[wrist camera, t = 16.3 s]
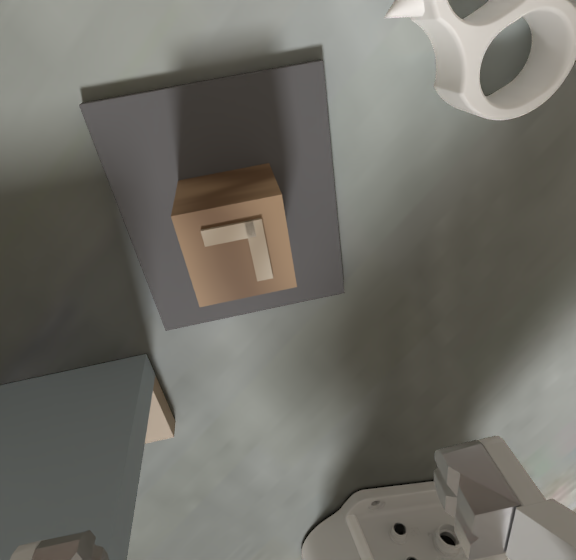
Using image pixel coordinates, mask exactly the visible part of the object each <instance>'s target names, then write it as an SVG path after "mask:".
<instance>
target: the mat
mask: <svg viewBox="0 0 576 560" xmlns="http://www.w3.org/2000/svg"><path fill="white" fill-rule="evenodd" d="M79 106H80V108H81V111H82V114H83V116H84V119H85V121H86V124H87V127H88V129H89V132H90V134H91V137H92V140H93V142H94V145H95V148H96V150H97V153H98V155H99V158H100V161H101V163H102V166H103V168H104V171H105V174H106V176H107V179H108V181H109V184H110V187H111V189H112V192H113V194H114V197H115V200H116V202H117V205H118V207H119V210H120V213H121V215H122V218H123V220H124V223H125V226H126V228H127V231H128V233H129V236H130V239H131V241H132V244H133V246H134V249H135V252H136V254H137V257H138V260H139V262H140V265H141V267H142V270H143V273H144V275H145V278H146V280H147V283H148V286H149V288H150V291H151V293H152V296H153V299H154V301H155V304H156V306H157V309H158V312H159V314H160V317H161V319H162V322H163V325H164V327H165V330H166V331H167V330H171V329H176V328H181V327H186V326H190V325H195V324H200V323H204V322H209V321H214V320H219V319H223V318H228V317H233V316H237V315H242V314H247V313H252V312H256V311H261V310H266V309H270V308H275V307H280V306H285V305H289V304H294V303H299V302H304V301H308V300H313V299H318V298H322V297H327V296H332V295H337V294H341V293H344V283H343V272H342V261H341V250H340V240H339V229H338V218H337V207H336V196H335V185H334V174H333V163H332V153H331V142H330V131H329V120H328V109H327V98H326V87H325V76H324V66H323V60H316V61H311V62H305V63H300V64H294V65H289V66H283V67H278V68H272V69H267V70H261V71H256V72H250V73H245V74H239V75H233V76H228V77H222V78H217V79H211V80H206V81H200V82H195V83H189V84H184V85H178V86H173V87H167V88H162V89H156V90H151V91H145V92H140V93H134V94H129V95H123V96H118V97H112V98H107V99H101V100H96V101H90V102H85V103H81V104H80V105H79ZM266 163H269V164H270V167H271V169H272V171H273V174H274V176H275V179H276V181H277V184H278V186H279V188H280V191H281V193H282V198H283V204H284V210H285V216H286V222H287V229H288V235H289V241H290V247H291V253H292V259H293V265H294V271H295V278H296V284H297V287H294V288H290V289H285V290H280V291H275V292H271V293H266V294H261V295H256V296H252V297H247V298H242V299H237V300H233V301H228V302H223V303H218V304H214V305H209V306H204V307H199V303H198V300H197V297H196V294H195V291H194V288H193V285H192V281H191V278H190V275H189V272H188V269H187V266H186V263H185V259H184V256H183V253H182V250H181V247H180V244H179V241H178V237H177V234H176V231H175V228H174V225H173V222H172V219H171V213H172V208H173V203H174V198H175V193H176V188H177V183H178V181H179V180H184V179H189V178H194V177H199V176H204V175H210V174H215V173H220V172H225V171H230V170H235V169H240V168H246V167H251V166H256V165H261V164H266Z"/></svg>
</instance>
